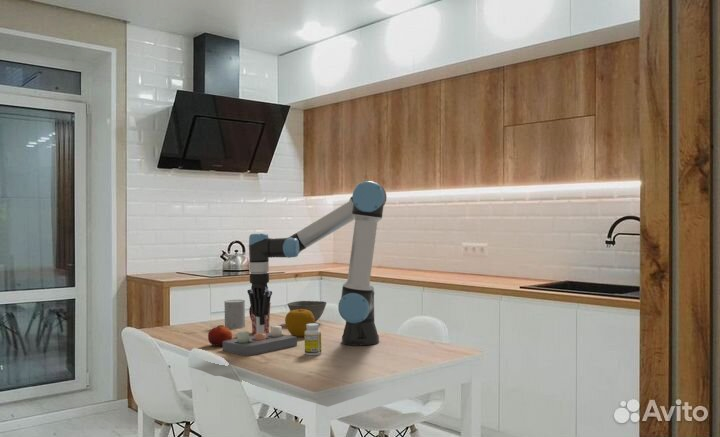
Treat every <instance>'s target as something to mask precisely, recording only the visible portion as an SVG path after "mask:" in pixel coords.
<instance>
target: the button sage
mask: <svg viewBox="0 0 720 437" xmlns="http://www.w3.org/2000/svg"><path fill="white" fill-rule="evenodd" d="M236 334H237V338H236V339H238V343H239V344H245V343H249V336H250V332H249V331H238V332H237V333H236Z"/></svg>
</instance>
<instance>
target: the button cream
mask: <svg viewBox="0 0 720 437" xmlns="http://www.w3.org/2000/svg"><path fill="white" fill-rule="evenodd" d="M270 332H271V337H274V338H276V337H282V334H283V333H282V326H281V325H271V326H270Z"/></svg>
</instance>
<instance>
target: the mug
mask: <svg viewBox="0 0 720 437" xmlns="http://www.w3.org/2000/svg"><path fill="white" fill-rule="evenodd" d="M271 305H272V303H271V302H270V305H269V313H268V315H266V316H265V324H264V333H270V319H271ZM248 310H249V311H248V312H249V314H248V315H249V317H250V321H251V329H252V330H251V331H252V334H253V335H254V334H257V333H256V316H255V315H254V314H252V311H251V305H250V307H249V309H248Z"/></svg>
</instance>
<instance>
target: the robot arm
mask: <svg viewBox="0 0 720 437" xmlns="http://www.w3.org/2000/svg"><path fill="white" fill-rule="evenodd" d="M386 203H387V192H386V190H385V188H384V187H383V186H382V185H380V184H379V183H378V182H376V181H373V180H366V181H363V182H360V183H359V184H358V185H356V186H355V188H354V190H353V192H352V196H350V198H349V200H348V201H347V202H345V203H344V204H342V205H341V206H338V207H337V208H336V209H334V210H332V211H331V212H329V213H327V214H326V215H323V216H322V217H320V218H319V219H317V220H316V221H314V222H312V223H310V224H309V225H307V226H305V227H304V228H301V230H299V231H297V232H296V233H294V234H292V235H290V236H288V237H282V238H281V237H280V238H271V237H270V238H269V233H251V234H249V236H248V258H249V262H248V264H249V267H248V268H249V269H248V270H249V271H248V272H250V273H249V283H250V284H251V285H250V286H251V288H250V289H247V294H248V297H249V298H248V299H249V303H250V306H251V311H252V314H254V315H255V316H256V333H258V334H260V333H264V324H265V316H266V315H268V313H269V305H270V306H271V304H270V303H271V298H272V295H273V291H272V290H269V286H268V283H270V274H269V272H270V270H269V267H270V266H269V265H270V264H269V259H270V258H271V259H272V258H287V259H288V258H289V259H290V258H297V257H298V256H299V254H300V253H301V252H302V251H304V250H305V249H307V248H309V247H311V246H312V245H314V244H315V243H317V242H319V241H321V240H322V239H325V238H326V237H327V236H329V235H331V234H333V233H334V232H336V231H338V230H339V229H341V228H342V227H344V226H346V225H348V224H349V223H352V222H353V221H354V226H353V232H352V233H353V235H352V241H351V243H352V244H351V250H350V257H349V266H348V273H347V274H348V275H347V281H346V282H344V283H343V284H342V289H341V297H340V300H339V302H338V305H337V306H338V313H339V315H340V317H341V318H342V319H343V320H344V321H345V326H344V328H343V332H342V333H343V334H342V335H341V343H342V344H344V345H348V346H370V345H375V344H378V343H379V342H380V336H379V334H378V330H377V327H376V323H375V288H374V286H373V285H371V284H370V283H371V276H372V275H371V274H372V267H373V259H374V252H375V243H376V236H377V229H378V223H379V222H380V221H381V220H382V219H383V212H384V206H385V204H386Z"/></svg>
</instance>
